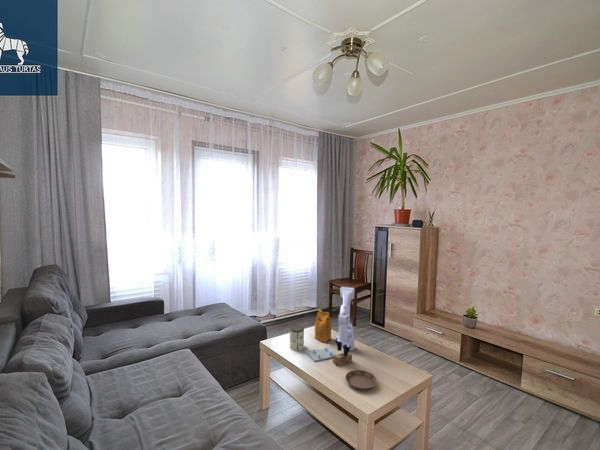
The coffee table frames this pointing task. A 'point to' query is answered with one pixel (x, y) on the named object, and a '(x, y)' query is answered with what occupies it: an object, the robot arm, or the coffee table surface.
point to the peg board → (321, 354)
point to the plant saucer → (361, 380)
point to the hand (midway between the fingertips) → (342, 353)
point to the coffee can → (296, 337)
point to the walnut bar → (342, 359)
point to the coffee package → (323, 326)
